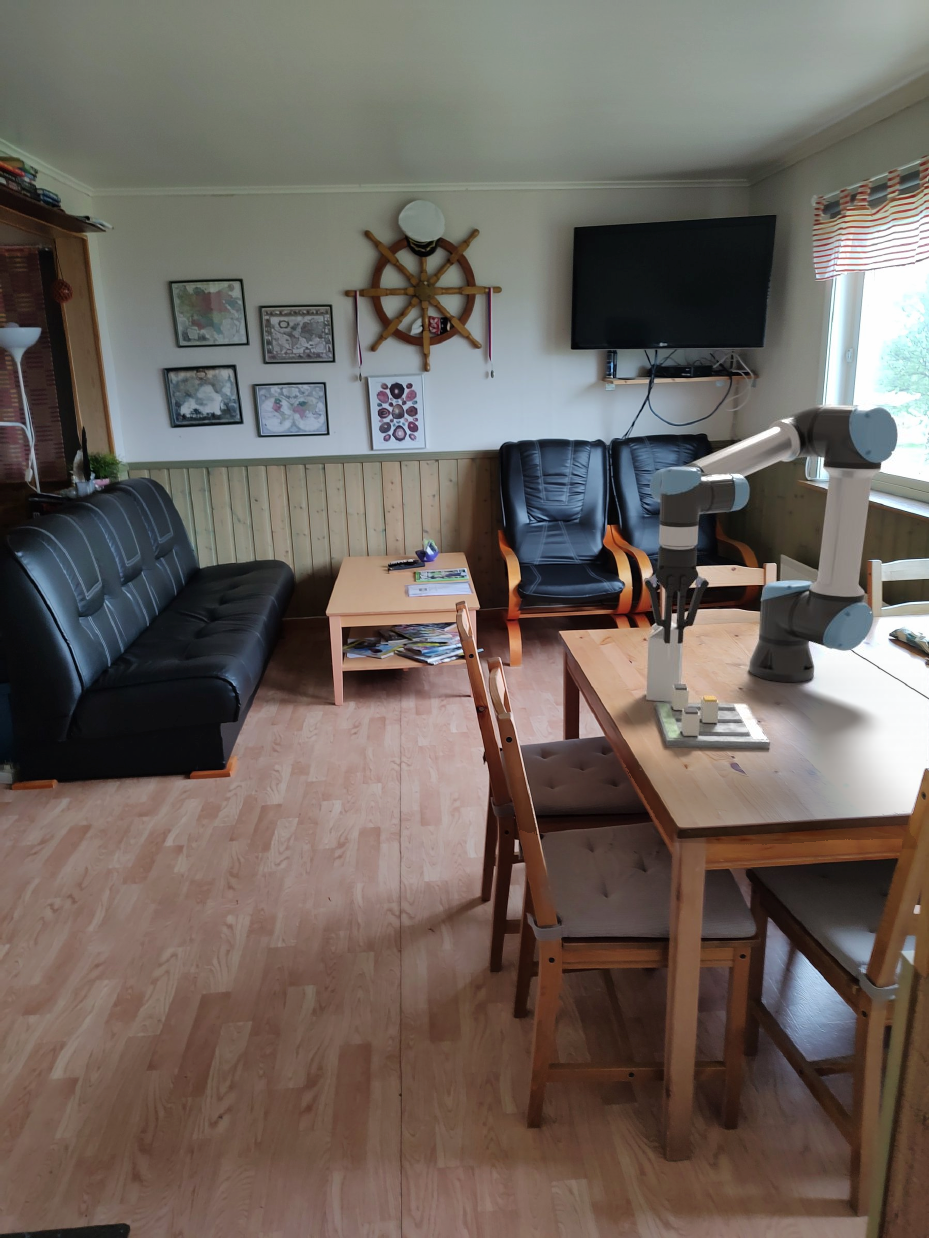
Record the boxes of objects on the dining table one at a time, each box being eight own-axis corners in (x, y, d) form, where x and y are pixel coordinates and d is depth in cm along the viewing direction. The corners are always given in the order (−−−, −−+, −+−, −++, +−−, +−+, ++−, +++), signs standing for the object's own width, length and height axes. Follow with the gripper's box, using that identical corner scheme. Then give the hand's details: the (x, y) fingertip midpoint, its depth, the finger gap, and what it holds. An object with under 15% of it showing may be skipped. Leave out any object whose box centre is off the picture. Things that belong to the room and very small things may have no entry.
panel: (745, 709, 189) (746, 702, 189) (769, 748, 169) (770, 741, 169) (654, 708, 191) (654, 701, 191) (666, 746, 171) (667, 739, 171)
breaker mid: (714, 717, 181) (716, 695, 180) (717, 722, 178) (718, 700, 177) (700, 717, 181) (701, 694, 180) (702, 722, 178) (704, 700, 177)
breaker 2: (696, 729, 175) (697, 707, 173) (698, 735, 172) (699, 712, 170) (681, 729, 175) (682, 706, 174) (683, 735, 172) (684, 712, 171)
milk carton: (680, 693, 200) (684, 615, 195) (677, 703, 194) (681, 623, 189) (649, 690, 202) (652, 613, 197) (646, 700, 196) (648, 621, 191)
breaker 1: (685, 704, 188) (686, 683, 187) (687, 709, 185) (688, 688, 184) (671, 704, 188) (672, 683, 187) (673, 709, 186) (674, 688, 184)
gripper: (707, 542, 173) (701, 653, 180) (642, 542, 175) (638, 652, 181) (714, 549, 166) (707, 664, 172) (646, 549, 167) (642, 663, 174)
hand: (672, 658), depth 177 cm, fingers closed
